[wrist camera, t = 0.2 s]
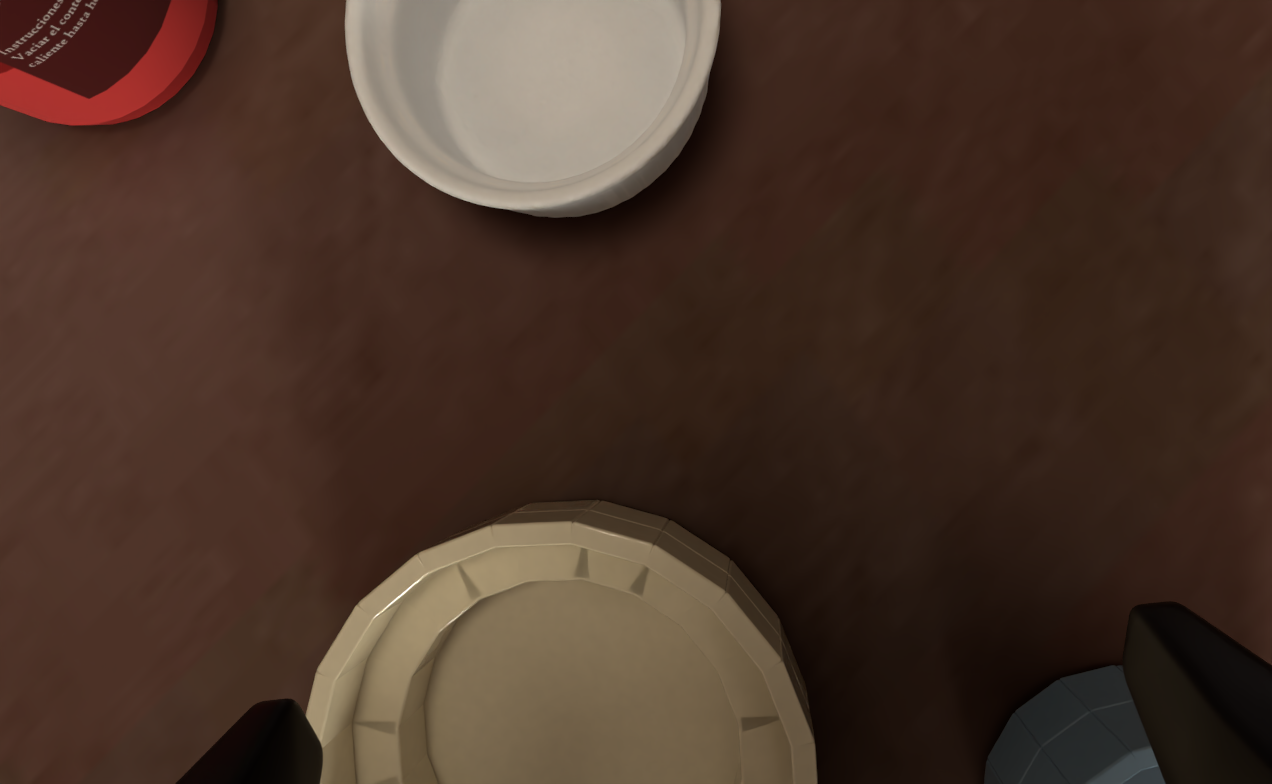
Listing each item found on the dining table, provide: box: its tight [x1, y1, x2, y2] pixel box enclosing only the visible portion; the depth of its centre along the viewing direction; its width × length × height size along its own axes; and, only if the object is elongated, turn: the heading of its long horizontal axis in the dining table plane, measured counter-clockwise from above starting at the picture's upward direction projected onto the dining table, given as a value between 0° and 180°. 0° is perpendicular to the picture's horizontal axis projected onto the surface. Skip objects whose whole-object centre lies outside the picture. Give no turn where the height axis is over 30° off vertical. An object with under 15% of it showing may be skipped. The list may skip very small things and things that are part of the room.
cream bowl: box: [306, 500, 818, 784], centre depth 23 cm, size 12×12×4 cm
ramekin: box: [345, 0, 721, 218], centre depth 23 cm, size 9×9×4 cm
